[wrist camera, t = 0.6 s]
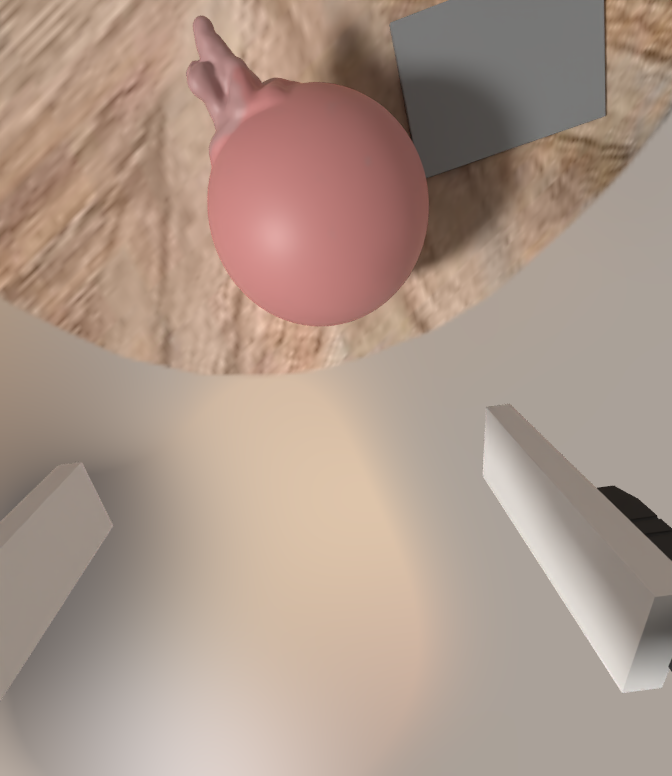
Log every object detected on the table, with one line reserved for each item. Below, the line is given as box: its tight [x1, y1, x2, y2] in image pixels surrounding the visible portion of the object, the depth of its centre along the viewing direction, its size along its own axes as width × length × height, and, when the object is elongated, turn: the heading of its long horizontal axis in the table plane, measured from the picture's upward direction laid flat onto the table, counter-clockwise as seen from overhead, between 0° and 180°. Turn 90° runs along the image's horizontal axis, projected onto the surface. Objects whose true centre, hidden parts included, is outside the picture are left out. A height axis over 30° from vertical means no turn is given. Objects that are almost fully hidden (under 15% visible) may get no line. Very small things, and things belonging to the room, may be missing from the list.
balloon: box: [186, 16, 429, 326], centre depth 27 cm, size 15×20×15 cm
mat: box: [390, 0, 605, 178], centre depth 31 cm, size 11×16×1 cm
